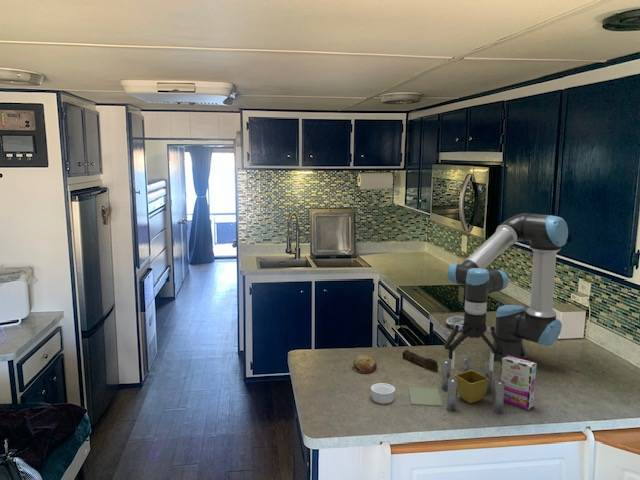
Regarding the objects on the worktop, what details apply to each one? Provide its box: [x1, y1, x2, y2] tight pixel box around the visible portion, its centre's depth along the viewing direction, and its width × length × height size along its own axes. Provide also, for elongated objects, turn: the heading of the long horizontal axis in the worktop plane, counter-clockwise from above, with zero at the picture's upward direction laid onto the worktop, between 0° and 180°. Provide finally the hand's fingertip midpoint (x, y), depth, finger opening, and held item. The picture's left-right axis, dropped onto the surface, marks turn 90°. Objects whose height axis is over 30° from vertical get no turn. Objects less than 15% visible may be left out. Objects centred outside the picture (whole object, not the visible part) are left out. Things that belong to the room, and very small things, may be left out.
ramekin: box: [370, 382, 396, 405], centre depth 187 cm, size 9×9×4 cm
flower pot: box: [454, 369, 489, 404], centre depth 186 cm, size 9×9×9 cm
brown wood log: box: [401, 349, 439, 373], centre depth 217 cm, size 19×4×5 cm, turn 33°
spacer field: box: [440, 356, 505, 415], centre depth 188 cm, size 19×23×11 cm
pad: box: [408, 386, 443, 407], centre depth 189 cm, size 11×13×1 cm
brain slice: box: [445, 315, 464, 332], centre depth 265 cm, size 20×17×3 cm
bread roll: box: [352, 354, 378, 375], centre depth 213 cm, size 10×10×8 cm
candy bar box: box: [499, 355, 538, 411], centre depth 183 cm, size 11×5×16 cm, turn 45°
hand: (471, 368), depth 185 cm, fingers open, 13 cm apart
